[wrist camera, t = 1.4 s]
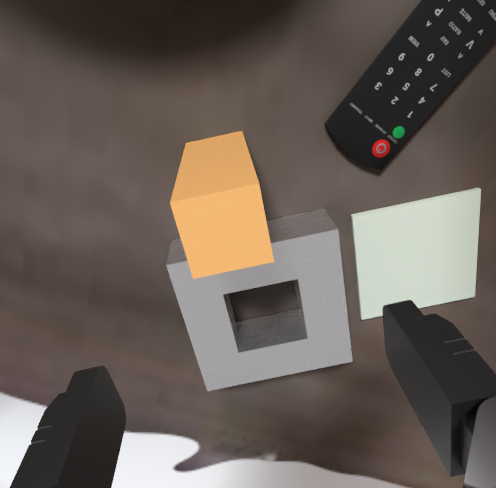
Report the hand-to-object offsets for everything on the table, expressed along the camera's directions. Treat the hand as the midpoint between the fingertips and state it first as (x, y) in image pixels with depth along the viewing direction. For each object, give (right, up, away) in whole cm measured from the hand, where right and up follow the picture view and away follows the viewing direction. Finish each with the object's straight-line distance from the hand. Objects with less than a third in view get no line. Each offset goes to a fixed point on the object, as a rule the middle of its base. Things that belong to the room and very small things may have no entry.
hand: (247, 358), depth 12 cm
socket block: (+1, 0, +23) cm, 23 cm away
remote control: (+14, +19, +15) cm, 28 cm away
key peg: (-2, +9, +18) cm, 20 cm away
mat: (+14, +2, +23) cm, 27 cm away
